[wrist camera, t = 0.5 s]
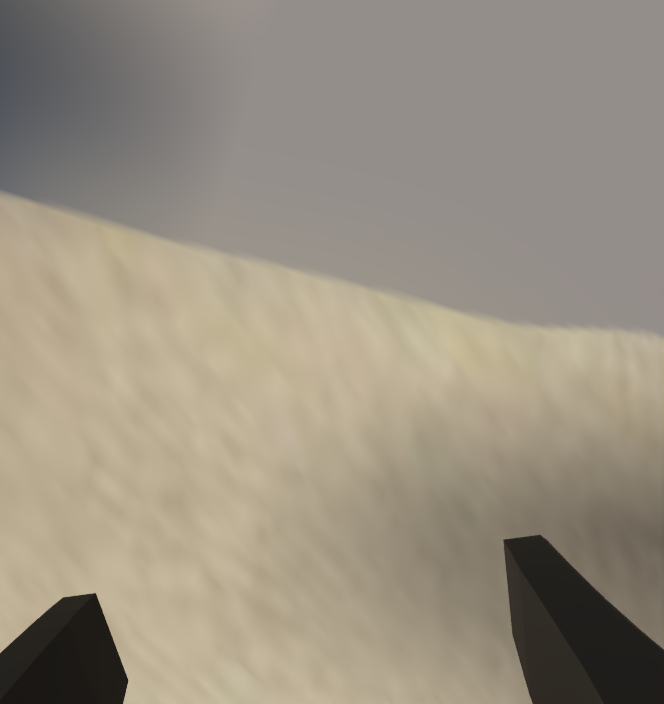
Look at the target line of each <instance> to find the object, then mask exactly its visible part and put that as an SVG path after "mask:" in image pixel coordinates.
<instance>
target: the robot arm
mask: <svg viewBox="0 0 664 704" xmlns="http://www.w3.org/2000/svg"><path fill="white" fill-rule="evenodd" d="M504 550H505V561H506V571H507V581H508V592H509V602H510V612H511V622H512V633H513V638H514V641H515V645H516V648H517V652H518V656H519V659H520V663H521V666H522V670H523V673H524V677H525V680H526V684H527V687H528V691H529V694H530V697H531V700H532V702H533V704H664V650H663V649H662V648H661V647H660V646H659V645H657V644H656V643H655V642H654V641H653V640H651V639H650V638H649V637H648V636H647V635H646V634H644V633H643V632H642V631H641V630H640V629H639V628H637V627H636V626H635V625H634V624H633V623H632V622H631V621H630V620H629V619H627V618H626V617H625V616H624V615H623V614H622V613H621V612H620V611H619V610H617V609H616V608H615V607H614V606H613V605H612V604H611V603H610V602H608V601H607V600H606V599H605V598H604V597H603V596H602V595H601V594H600V593H599V592H598V591H597V590H596V589H595V588H594V587H593V586H592V585H591V584H590V583H589V582H587V581H586V580H585V579H584V578H583V577H582V576H581V575H580V574H579V573H578V572H577V571H576V570H575V569H574V568H573V567H572V566H571V565H570V564H569V563H568V562H567V561H566V560H565V559H564V558H563V556H562V555H561V554H560V553H559V552H558V551H557V550H556V549H555V548H554V547H553V546H552V545H551V544H550V543H549V542H548V541H547V540H546V539H545V538H544V537H542V536H541V535H536V536H528V537H521V538H513V539H506V540H504ZM127 684H128V678H127V676H126V673H125V670H124V668H123V665H122V662H121V660H120V657H119V654H118V652H117V649H116V646H115V644H114V641H113V638H112V636H111V633H110V630H109V628H108V625H107V622H106V620H105V617H104V614H103V611H102V609H101V606H100V603H99V601H98V598H97V595H96V593H94V594H86V595H79V596H71V597H64V598H62V599H61V600H60V601H58V602H57V603H56V604H55V605H53V606H52V607H51V608H50V609H49V610H48V611H46V612H45V613H44V614H43V615H42V616H41V617H40V618H38V619H37V620H36V621H35V622H34V623H33V624H32V625H31V626H29V627H28V628H27V629H26V630H25V631H24V632H23V633H22V634H21V635H20V636H18V637H17V638H16V639H15V640H14V641H13V642H12V643H11V644H10V645H9V646H8V647H7V648H5V649H4V650H3V651H2V652H1V653H0V704H123V701H124V697H125V693H126V688H127Z"/></svg>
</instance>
